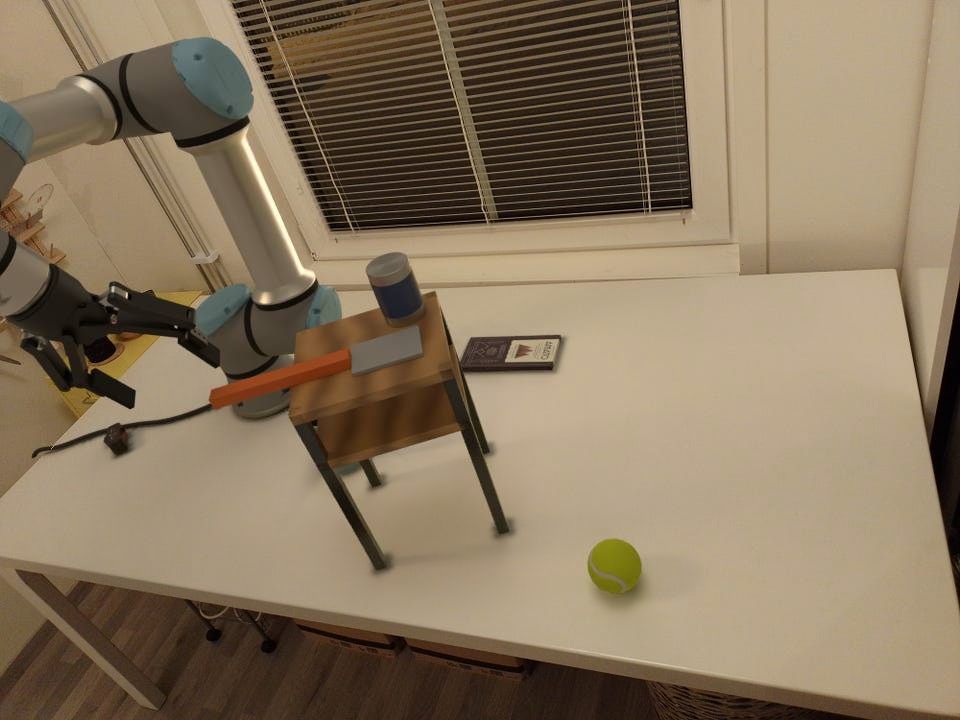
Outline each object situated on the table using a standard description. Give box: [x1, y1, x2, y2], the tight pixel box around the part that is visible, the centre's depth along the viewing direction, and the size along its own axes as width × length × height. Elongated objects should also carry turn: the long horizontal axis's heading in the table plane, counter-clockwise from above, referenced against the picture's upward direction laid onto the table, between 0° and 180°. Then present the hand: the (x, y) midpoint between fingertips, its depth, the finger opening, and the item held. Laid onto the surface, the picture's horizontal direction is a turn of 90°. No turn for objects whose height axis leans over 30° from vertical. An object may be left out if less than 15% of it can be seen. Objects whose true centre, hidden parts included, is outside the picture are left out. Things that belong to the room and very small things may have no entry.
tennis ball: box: [587, 538, 643, 594], centre depth 88 cm, size 7×7×7 cm
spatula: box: [208, 326, 424, 410], centre depth 87 cm, size 27×6×2 cm, turn 99°
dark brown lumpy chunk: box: [103, 422, 129, 456], centre depth 139 cm, size 5×7×3 cm, turn 25°
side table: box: [288, 290, 510, 571], centre depth 99 cm, size 20×18×31 cm
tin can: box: [365, 251, 426, 328], centre depth 91 cm, size 6×6×8 cm
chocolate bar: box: [459, 334, 562, 372], centre depth 131 cm, size 9×1×18 cm
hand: (174, 380), depth 91 cm, fingers open, 13 cm apart
